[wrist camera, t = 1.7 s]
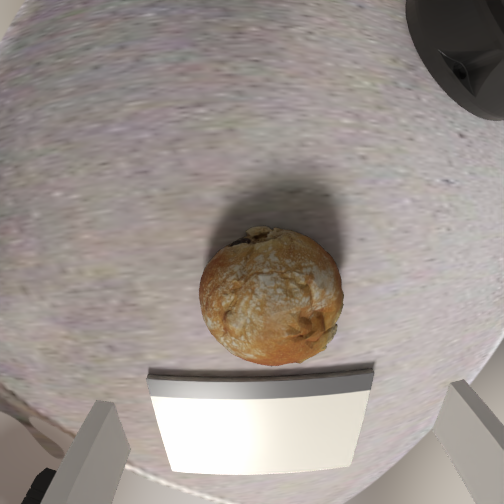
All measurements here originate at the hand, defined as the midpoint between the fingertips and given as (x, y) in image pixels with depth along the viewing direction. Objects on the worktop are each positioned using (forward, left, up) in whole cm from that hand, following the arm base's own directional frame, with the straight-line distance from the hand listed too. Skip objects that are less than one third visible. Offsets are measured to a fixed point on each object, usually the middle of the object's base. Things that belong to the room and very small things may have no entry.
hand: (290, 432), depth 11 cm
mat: (+1, +15, -14) cm, 21 cm away
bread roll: (0, 0, -15) cm, 15 cm away
